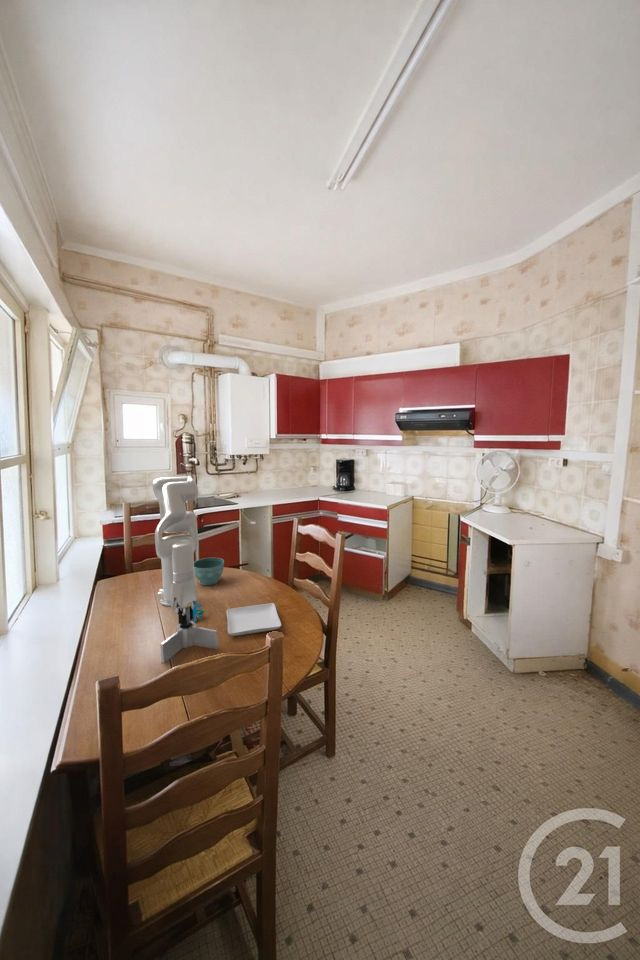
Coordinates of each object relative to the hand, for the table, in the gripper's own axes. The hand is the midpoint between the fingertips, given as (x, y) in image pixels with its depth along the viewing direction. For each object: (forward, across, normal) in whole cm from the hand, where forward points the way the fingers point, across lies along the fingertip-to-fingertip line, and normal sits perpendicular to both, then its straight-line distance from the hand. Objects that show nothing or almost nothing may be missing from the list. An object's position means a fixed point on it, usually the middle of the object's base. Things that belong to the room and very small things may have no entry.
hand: (186, 621), depth 143 cm
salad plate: (+9, -21, +17) cm, 29 cm away
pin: (+4, 0, 0) cm, 4 cm away
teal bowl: (+9, -53, -26) cm, 60 cm away
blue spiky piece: (+9, -16, -10) cm, 21 cm away
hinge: (+9, +5, +5) cm, 11 cm away
